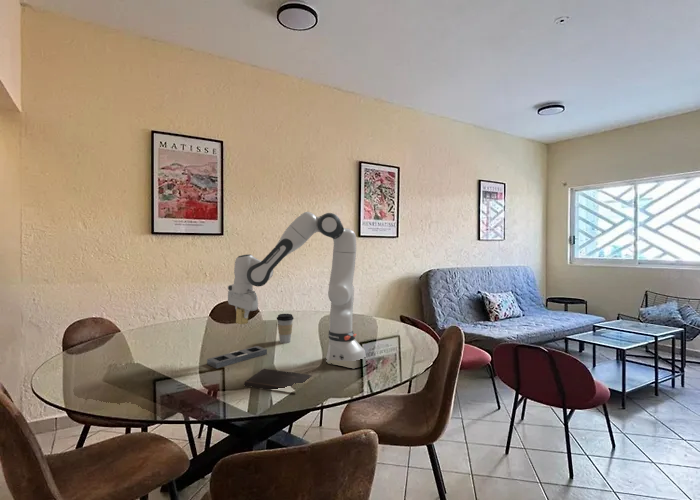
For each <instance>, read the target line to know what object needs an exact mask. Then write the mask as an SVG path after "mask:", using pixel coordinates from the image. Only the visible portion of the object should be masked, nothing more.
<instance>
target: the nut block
mask: <svg viewBox="0 0 700 500" xmlns="http://www.w3.org/2000/svg"><path fill="white" fill-rule="evenodd" d="M235 313H236V315H235V316H236V317H235V323H236V324H238V325H246V324H249V317H248V318H243V314H244V313H245V311H244V309H243V308H236V309H235Z"/></svg>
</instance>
